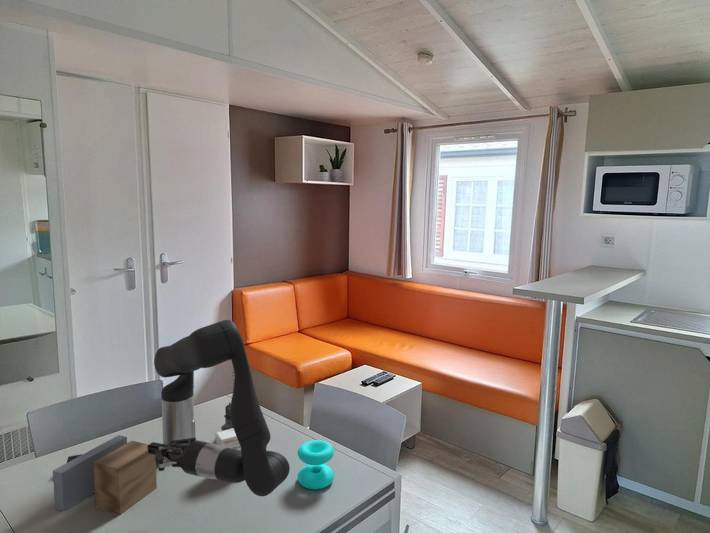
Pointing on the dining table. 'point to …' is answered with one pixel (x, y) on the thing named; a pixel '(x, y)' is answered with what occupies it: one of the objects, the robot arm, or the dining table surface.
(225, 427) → the dark grey figurine
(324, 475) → the turquoise spool
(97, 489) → the walnut block
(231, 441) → the ink box
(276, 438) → the dining table surface
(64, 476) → the slate board
